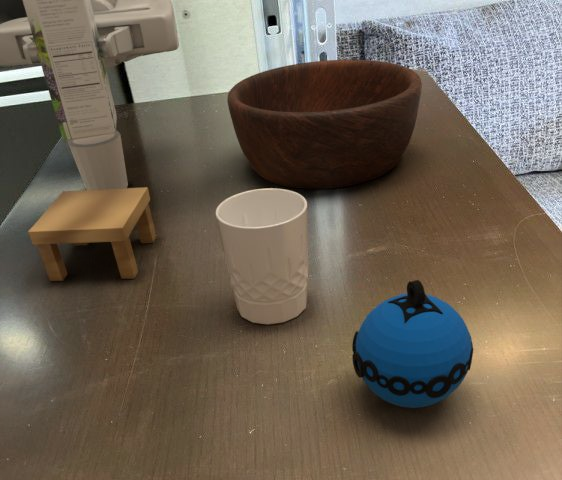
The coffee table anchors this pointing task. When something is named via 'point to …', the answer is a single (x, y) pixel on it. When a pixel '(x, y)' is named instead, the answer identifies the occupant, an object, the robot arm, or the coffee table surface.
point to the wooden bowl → (325, 121)
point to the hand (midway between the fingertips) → (68, 52)
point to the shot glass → (100, 161)
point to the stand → (94, 226)
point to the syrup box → (73, 67)
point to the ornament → (412, 349)
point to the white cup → (266, 252)
